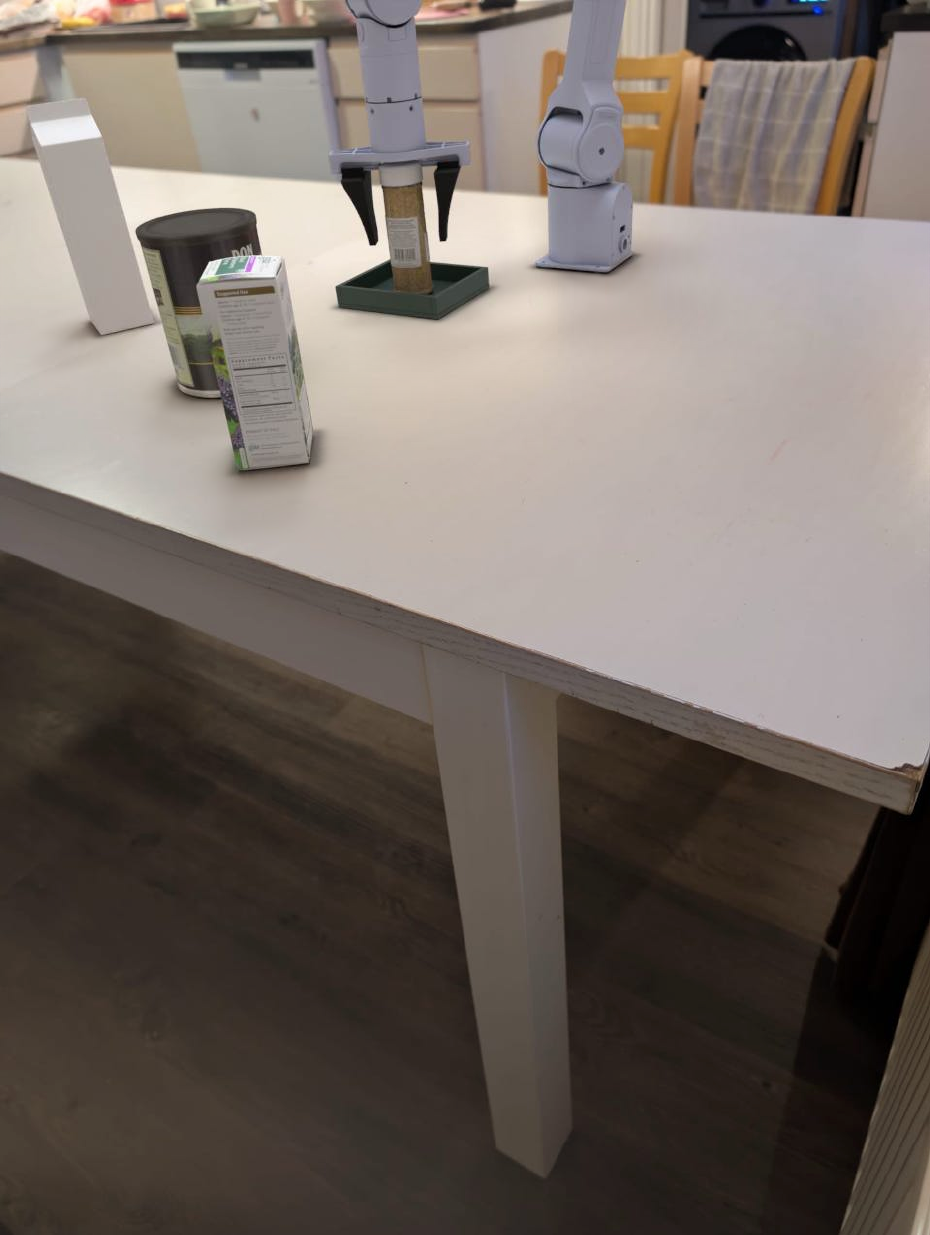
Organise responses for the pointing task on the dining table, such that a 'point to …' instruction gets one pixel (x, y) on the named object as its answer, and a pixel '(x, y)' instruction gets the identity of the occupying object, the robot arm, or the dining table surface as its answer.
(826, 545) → the dining table surface
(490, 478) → the dining table surface
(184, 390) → the coffee can
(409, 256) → the sprinkles bottle
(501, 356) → the dining table surface
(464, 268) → the serving tray
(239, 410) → the syrup box
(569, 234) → the robot arm
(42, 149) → the milk
